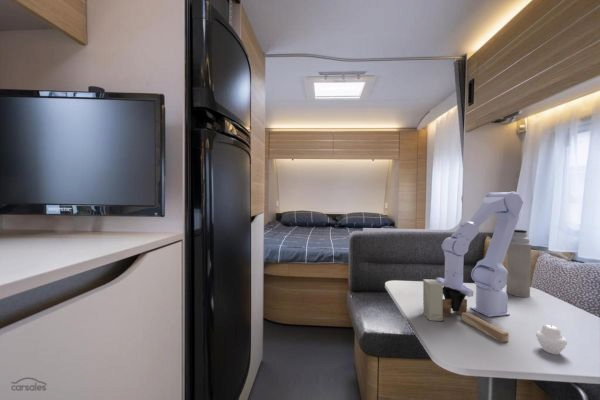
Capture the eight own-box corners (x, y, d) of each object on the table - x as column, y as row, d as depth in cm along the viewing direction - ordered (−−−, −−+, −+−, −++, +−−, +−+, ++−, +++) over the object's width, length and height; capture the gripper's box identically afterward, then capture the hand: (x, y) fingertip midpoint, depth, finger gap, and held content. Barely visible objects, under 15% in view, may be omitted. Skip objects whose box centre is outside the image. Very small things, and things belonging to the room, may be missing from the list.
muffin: (529, 344, 75) (530, 319, 75) (551, 345, 74) (552, 320, 74) (549, 357, 68) (550, 330, 68) (573, 358, 68) (574, 331, 68)
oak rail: (467, 319, 89) (467, 312, 89) (508, 341, 76) (508, 333, 76) (461, 320, 89) (462, 312, 89) (502, 342, 75) (502, 333, 75)
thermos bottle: (519, 290, 120) (521, 229, 120) (535, 297, 112) (536, 231, 112) (501, 290, 120) (503, 228, 120) (516, 296, 112) (517, 230, 112)
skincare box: (443, 321, 88) (444, 285, 88) (429, 320, 88) (430, 284, 88) (435, 313, 94) (435, 279, 94) (422, 312, 94) (422, 278, 94)
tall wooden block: (462, 311, 96) (462, 297, 96) (466, 313, 94) (467, 299, 94) (438, 313, 94) (439, 299, 94) (442, 315, 92) (443, 301, 92)
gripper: (429, 266, 100) (428, 302, 100) (461, 278, 86) (460, 319, 86) (445, 265, 102) (444, 301, 102) (479, 277, 87) (477, 317, 88)
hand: (452, 309), depth 94 cm, fingers closed on tall wooden block, 2 cm apart
